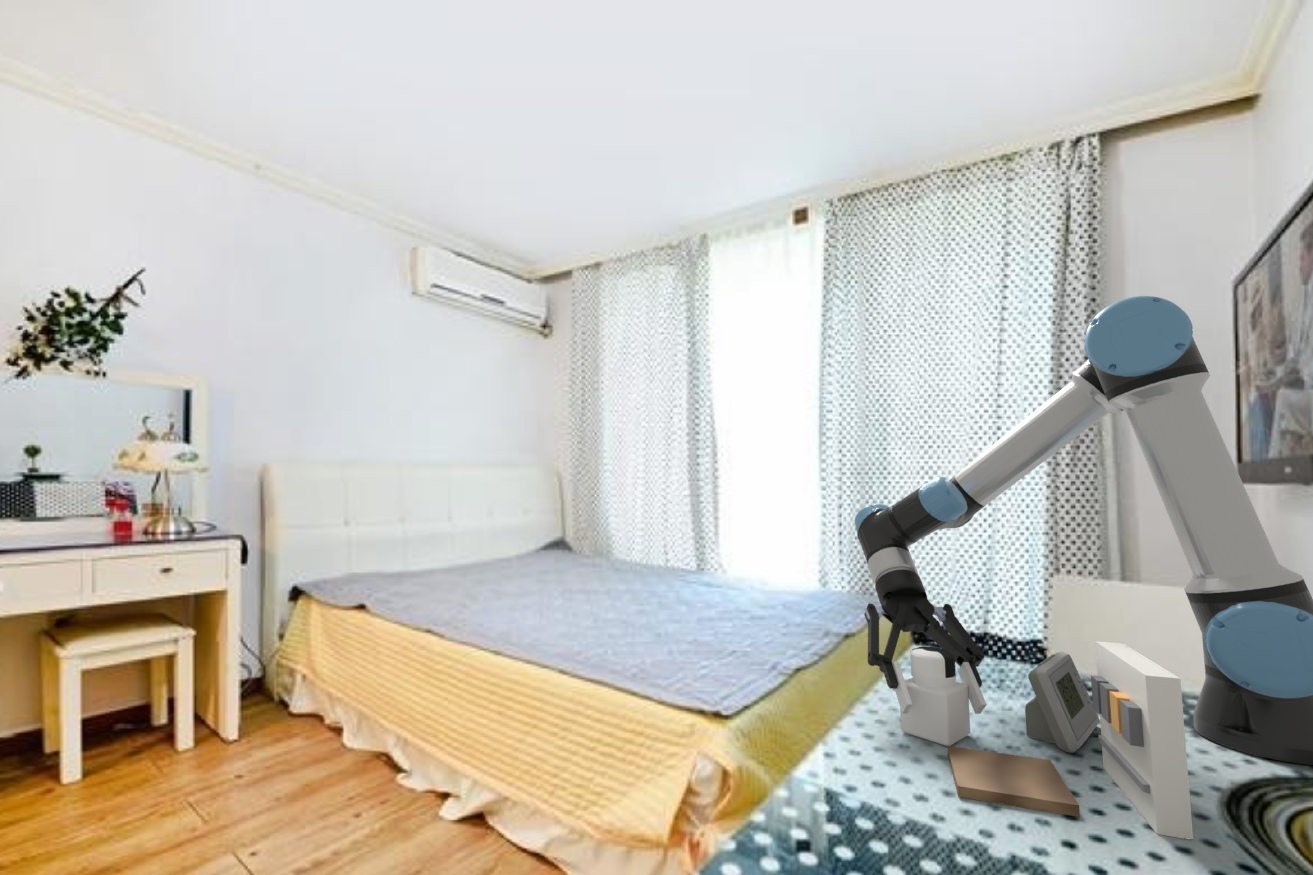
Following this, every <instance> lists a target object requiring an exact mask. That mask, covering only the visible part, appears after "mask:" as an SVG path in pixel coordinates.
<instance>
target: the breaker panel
mask: <svg viewBox="0 0 1313 875" xmlns="http://www.w3.org/2000/svg"><path fill="white" fill-rule="evenodd" d="M1094 642H1095V643H1094V647H1095V659H1096V661H1095V662H1096V673H1097V674H1096V675H1092V674H1091V675H1090V684H1091V699H1092V700H1091V701H1092V704H1093V708H1094V709H1095V710H1096V712H1097V714H1098V715H1099V723H1100V731H1101V732H1100V734H1098V736H1097V737H1098V742H1099V743H1100V744H1101V748H1102V749H1101V750H1102V764H1103V769H1104V771H1105V772H1106V773H1107V774H1108V775H1109V777H1110V778H1111V779H1112V781H1114V782H1113V783H1115V785H1117V787H1118V788H1119V789H1120V790H1121V792H1122V793H1123V794H1124V796H1125V797H1126V798H1127V799H1128V800H1129V802H1130V803H1131V804H1132V805H1133V807H1135V809H1136V810H1137V811H1138V812H1139V813H1140V815H1141V816H1142V817H1143V819H1144V820H1145V821H1146V822H1147V823H1148V825H1149V826H1150V827H1151V828H1152V830H1153V831H1154V832H1155V834H1156V835H1160V836H1167V837H1172V838H1179V839H1184V838H1185V840H1190V839H1193V840H1194V834H1193V832H1194V831H1193V822H1192V807H1191V805H1192V804H1191V794H1190V783H1189V771H1188V770H1189V769H1188V758H1187V755H1188V754H1187V744H1186V732H1185V731H1186V730H1185V719H1184V707H1183V706H1184V705H1183V694H1182V683H1181V682H1182V680H1181V677H1178V675H1176V674H1174V673H1172V672H1171V671H1169V670H1167V669H1165V668H1164V667H1162V666H1161V665H1159V664H1157V663H1156V662H1155V661H1152V660H1151V659H1150V658H1147V657H1146V656H1145V655H1142V654H1141V653H1140V652H1138V651H1136V650H1135V649H1133V648H1131V647H1129V646H1128V645H1127V644H1125V643H1123V642H1113V641H1111V642H1110V641H1097V640H1095V641H1094ZM1187 838H1189V839H1187Z"/></svg>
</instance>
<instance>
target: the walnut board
mask: <svg viewBox="0 0 1313 875" xmlns="http://www.w3.org/2000/svg"><path fill="white" fill-rule="evenodd" d="M946 751H947V757H948V762H949V766H950V769H951V775H952V778H953V781H954V782H953V783H954V786H955V789H956V795H957V797H959V798H964V799H970V800H975V801H981V802H988V803H995V804H1000V805H1005V806H1012V807H1019V808H1025V809H1029V810H1030V809H1031V810H1038V811H1042V812H1050V813H1055V814H1061V815H1066V816H1073V817H1079V818H1080V817H1081V813H1080V809H1081V808H1080V804H1079V802H1078V801H1077V800H1076V798H1075V796H1074V795H1073V793H1072V791H1071V790H1070V788H1069V787H1068V786H1067V784H1066V782H1065V780H1064V779H1063V778H1062V776H1061V774H1060V773H1059V771H1058V769H1057V768H1056V766H1055V765H1054V764H1053V761H1052V760H1051V759H1048V758H1040V757H1039V758H1038V757H1031V756H1025V755H1019V754H1018V755H1016V754H1009V753H1004V752H996V751H990V750H981V749H975V748H967V747H961V746H954V745H953V746H952V745H950V746H946Z"/></svg>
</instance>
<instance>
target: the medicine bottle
mask: <svg viewBox="0 0 1313 875" xmlns="http://www.w3.org/2000/svg"><path fill="white" fill-rule="evenodd" d="M909 654H910V675H911V677H910V678H909V679H906V680H905V679H904V680H905V683H906V686H907V689H908V692H909V695H910V698H911V701H912V706H911V708H910V710H909V712H908V713H902V711H901V708H900V707H899V708H900V711H899V712H900V730H901V732H902V733H905V734H908V735H911V736H915V737H917V738H921V739H924V740H927V741H931V742H933V743H935V744H936V743H937V744H940V745H943V746H946V747H947V746H952V745H954V744H955V743H957V742H959V741H961V740H962V739H964V738H965V737H967V736H969V735H970V734H971V721H970V720H971V719H970V718H971V716H970V714H971V713H970V700H969V694H968V685H967V684H963V683H962V682H960V681H959V682H958V681H957V676H956V674H957V673H956V662H955V656H954V655H953V654H952V653H951V652H949V651H947V650H945V649H942V648H941V647H937V646H918V647H915V648H913V649H912V650H910V653H909Z"/></svg>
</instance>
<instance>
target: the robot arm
mask: <svg viewBox="0 0 1313 875" xmlns="http://www.w3.org/2000/svg"><path fill="white" fill-rule="evenodd" d="M1088 325H1089V326H1088V327H1087V330H1086V332H1085V337H1084V345H1083V348H1084V352H1085V355H1086V357H1087V359H1086V360H1085V361H1084V362H1083V363H1082V364H1081V365H1080V366H1079V367H1077V369H1075V370H1074V371H1072V372H1071V381H1070V382H1068V384H1066V385H1065V386H1063V388H1062V389H1060V390H1059V391H1058V392H1057V393H1055V394H1054V395H1053V396H1051V397H1050V399H1048V400H1047V401H1045V402H1044V403H1043V404H1042V405H1041V406H1039V407H1038V408H1037V409H1035V410H1034V411H1033V412H1032V413H1031V414H1029V415H1028V416H1027V417H1026V418H1024V419H1023V420H1022V421H1021V422H1020V423H1017V425H1016V426H1015V427H1013V428H1012V429H1010V430H1009V431H1008V432H1007V433H1006V434H1004V435H1003V436H1002V437H1001V438H999V439H998V440H997V441H996V442H995V443H994V444H992V445H991V446H990V447H989V448H987V449H985V451H984V452H983V453H981V454H979V455H978V456H977V457H976V458H975V459H974V460H973V461H971V462H970V463H969V464H967V465H966V466H965V467H964V468H962V469H961V470H960V471H959V472H958V473H956V474H955V475H954V476H953V477H952V478H950V479H948V478H947V477H945V476H937V477H935V478H933V479H931V480H930V481H928V482H924V483H923V484H921V486H920V487H918V488H917V489H915V490H914V491H912V492H910V493H909V494H908V495H906V496H904V497H903V498H902V499H900V500H899V501H897V502H896V503H894V504H893V505H891V506H888V505H886V504H882V503H874V504H872V505H870V506H868V505H866V506H864V507H862V508H861V509H860V510H858V512H857V513H856V515H855V518H854V526H855V530H856V535H857V539H858V542H859V543H860V545H861V546H860V547H861V548H862V551H863V554H864V556H865V561H866V563H867V567H868V570H869V573H870V577H871V579H872V582H873V585H874V587H875V593H876V595H877V597H878V601H879V603H880V605H879V606H877V605H875V604H874V603H868V604H867V606H866V609H865V611H864V617H865V619H866V621H867V622H866V623H867V664H868V665H869V666H870V667H875V666H876V667H877V666H878V667H879V668H878V669H879V671H880V672H881V673H883V675H884V678H885V681H886V686H887V687H888V688H889V689H892V690H893V689H894V692H895V694H896V697H897V701H898V703H899V708H901V711H902V713H908V712H909V710H910V708H911V706H912V701H911V698H910V695H909V692H908V689H907V686H906V683H905V678H904V675H903V672H902V671H903V670H902V668H901V666H900V662H899V661H893V659H894V655H895V652H896V648H897V644H898V642H899V637H900V635H901V631H902V632H903V633H909V632H916V633H922V634H924V636H926V638H927V637H928V638H931V640H932V641H933V642H934V643H935V644H937V645H938V646H939V648H941V649H945V650H947V651H949V652H951V653H952V654H953V655H954V656H955V664H957V665H958V666H959V669H958V671H957V673H958V676H959V678H960V680H961V683H963V684H967V685H968V694H969V704H970V706H971V707H972V709H973V712H974V714H975V715H980V714H981V715H982V712H983V711H984V709H985V708H986V706H988V704H987V702H986V700H985V697H984V695H983V693H982V691H981V687H982V685H983V680H982V678H981V676H980V673H979V671H978V669H977V667H979V666H980V665H981V664H982V661H983V660H984V659H985V654H984V653H983V651H982V650H981V648H980V647H979V646H978V644H977V642H975V640H974V639H973V638H972V636H971V635H970V634H969V633H968V631H967V630H966V629H965V627H964V626H963V624H962V623H961V622H960V621H959V619H958V618H957V617H956V615H955V612H954V609H953V607H952V605H951V604H949V603H945V604H943V606H935V605H934V604H932V603H931V602H930V601H929V599H928V596H927V591H926V589H925V587H924V585H923V582H922V579H921V577H920V575H919V572H918V570H917V567H916V565H915V562H914V560H913V558H912V555H911V553H910V550H909V547H910V546H912V545H914V544H915V543H917V542H919V541H920V540H922V539H924V538H925V537H927V536H928V535H931V534H932V533H934V532H936V531H938V530H943V529H944V530H946V529H958V528H961V527H963V526H964V525H966V524H967V523H969V522H970V521H971V520H972V519H973V517H974V516H975V515H976V514H977V513H978V512H980V511H981V510H982V509H983V508H984V507H986V506H987V505H988V504H990V503H991V502H992V501H993V500H995V499H997V497H999V496H1000V495H1002V494H1003V493H1004V492H1005V491H1007V490H1008V489H1009V488H1011V487H1012V486H1013V485H1015V484H1016V483H1017V482H1019V481H1020V480H1021V479H1023V478H1024V477H1026V476H1027V475H1028V474H1029V473H1031V472H1032V471H1034V470H1035V469H1036V468H1037V467H1039V466H1040V465H1041V464H1043V463H1045V461H1047V460H1048V459H1049V458H1051V457H1052V456H1054V455H1055V454H1056V453H1057V452H1059V451H1060V450H1062V448H1064V447H1065V446H1066V445H1068V444H1069V443H1071V442H1072V441H1073V440H1075V439H1076V438H1078V436H1080V435H1081V434H1083V433H1084V432H1085V431H1086V430H1088V429H1089V428H1091V427H1093V426H1094V425H1095V424H1096V423H1097V422H1099V421H1100V420H1102V418H1104V417H1105V416H1107V415H1108V414H1113V413H1114V414H1116V413H1118V414H1119V413H1121V412H1123V411H1124V412H1125V413H1126V415H1127V418H1128V421H1129V423H1130V426H1131V428H1132V430H1133V432H1134V435H1135V436H1136V440H1137V441H1138V444H1139V447H1140V450H1141V453H1142V454H1143V456H1144V459H1145V461H1146V464H1147V466H1148V469H1149V471H1150V473H1151V476H1152V479H1153V481H1154V483H1155V485H1156V488H1157V490H1158V493H1159V495H1160V498H1161V501H1162V503H1163V505H1164V507H1165V510H1166V513H1167V515H1168V519H1170V522H1171V525H1172V527H1173V529H1174V532H1175V534H1176V537H1177V539H1178V542H1179V543H1180V544H1179V545H1180V546H1181V548H1182V552H1183V553H1184V556H1185V559H1186V561H1187V563H1188V566H1189V568H1190V571H1191V574H1192V576H1191V578H1190V580H1189V582H1188V583H1187V584H1186V586H1185V587H1184V592H1185V595H1186V596H1187V597H1186V598H1187V599H1188V602H1189V605H1190V608H1191V610H1192V613H1193V616H1194V617H1195V620H1196V622H1197V625H1198V627H1199V629H1200V631H1201V638H1202V651H1203V662H1204V670H1205V671H1204V673H1205V674H1204V675H1205V679H1204V682H1203V685H1202V688H1201V691H1200V693H1199V695H1198V699H1197V702H1196V705H1195V707H1194V710H1193V714H1192V715H1193V716H1192V717H1193V728H1194V730H1195V731H1196V733H1198V734H1199V735H1200V736H1202V737H1203V738H1206V739H1208V740H1210V741H1211V742H1213V743H1216V744H1218V745H1221V746H1224V747H1226V748H1229V749H1234V750H1236V751H1238V752H1242V753H1247V754H1250V755H1252V756H1253V755H1254V756H1258V757H1262V758H1267V759H1271V760H1275V761H1280V762H1281V761H1282V762H1286V763H1292V764H1302V765H1310V766H1313V597H1312V594H1311V592H1310V590H1309V588H1308V586H1307V583H1306V581H1305V579H1304V577H1303V575H1301V574H1300V573H1297V572H1295V571H1293V570H1291V569H1288V568H1287V567H1284V566H1283V564H1282V565H1281V563H1280V562H1279V561H1278V558H1277V556H1276V553H1275V552H1274V549H1273V547H1272V545H1271V542H1270V540H1269V538H1268V536H1267V534H1266V532H1265V529H1264V527H1263V525H1262V523H1261V520H1260V519H1259V516H1258V514H1257V512H1256V509H1255V507H1254V505H1253V503H1252V501H1251V499H1250V496H1249V494H1248V492H1247V489H1246V487H1245V485H1244V483H1243V481H1242V478H1241V477H1240V474H1239V472H1238V470H1237V468H1236V466H1235V463H1234V461H1233V458H1232V456H1231V454H1230V452H1229V450H1228V448H1227V445H1226V443H1225V440H1224V438H1223V436H1222V434H1221V432H1220V430H1219V427H1218V425H1217V422H1216V421H1215V418H1214V416H1213V415H1212V412H1211V409H1210V408H1209V406H1208V405H1209V404H1208V403H1207V401H1206V398H1205V396H1204V394H1203V392H1202V390H1203V388H1204V386H1205V385H1206V383H1207V381H1208V380H1209V378H1210V376H1211V375H1210V372H1209V370H1208V368H1207V366H1206V363H1205V361H1204V358H1203V357H1202V355H1201V352H1200V350H1199V348H1198V345H1197V343H1196V341H1195V338H1194V337H1193V334H1194V332H1193V323H1192V321H1191V319H1190V317H1189V315H1188V314H1187V313H1186V312H1185V310H1183V309H1182V308H1181V307H1179V306H1178V305H1177V304H1175V302H1173V301H1170V300H1168V299H1166V298H1163V297H1158V296H1151V295H1150V296H1149V295H1140V296H1132V297H1127V298H1124V299H1120V300H1118V301H1115V302H1113V303H1111V304H1110V305H1108V306H1106V307H1104V308H1103V309H1101V311H1100V312H1098V313H1097V314H1096V316H1094V318H1093V319H1092V320H1091V322H1090V323H1089V324H1088ZM933 615H934V616H936V617H937V618H938V619H936V617H934V616H933ZM882 616H883V617H884V618H885V619H886V620H888V622H890V624H892V625H891V628H890V632H889V635H888V639H887V641H886V644H885V645H886V646H885V649H884V652H883V654H880V619H881V617H882ZM941 622H942V625H943V627H944V628H945V629H944V628H943V627H942V626H941ZM901 711H900V712H901Z"/></svg>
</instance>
